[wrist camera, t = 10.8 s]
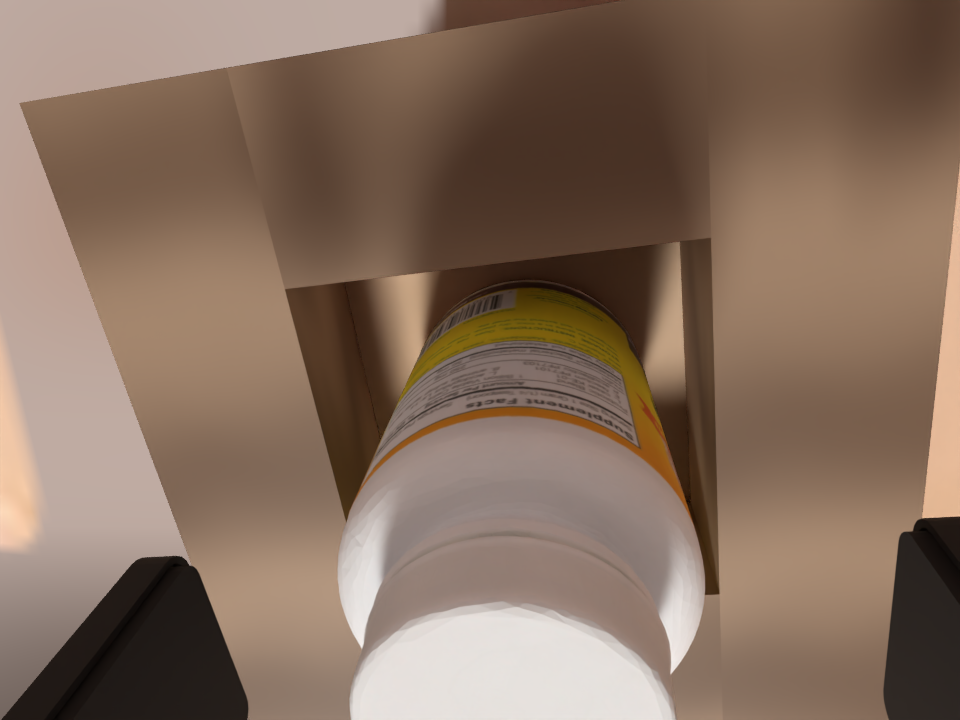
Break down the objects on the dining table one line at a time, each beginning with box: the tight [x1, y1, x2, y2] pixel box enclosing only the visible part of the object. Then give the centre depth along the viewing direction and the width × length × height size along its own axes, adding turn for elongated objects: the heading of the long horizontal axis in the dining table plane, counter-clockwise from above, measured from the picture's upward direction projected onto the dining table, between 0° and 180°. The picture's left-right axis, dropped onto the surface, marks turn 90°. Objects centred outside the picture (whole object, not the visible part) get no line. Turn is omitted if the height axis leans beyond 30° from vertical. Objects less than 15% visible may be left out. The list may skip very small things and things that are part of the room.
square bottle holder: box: [20, 0, 960, 720], centre depth 16 cm, size 16×16×4 cm
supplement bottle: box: [337, 280, 705, 720], centre depth 13 cm, size 6×6×10 cm
